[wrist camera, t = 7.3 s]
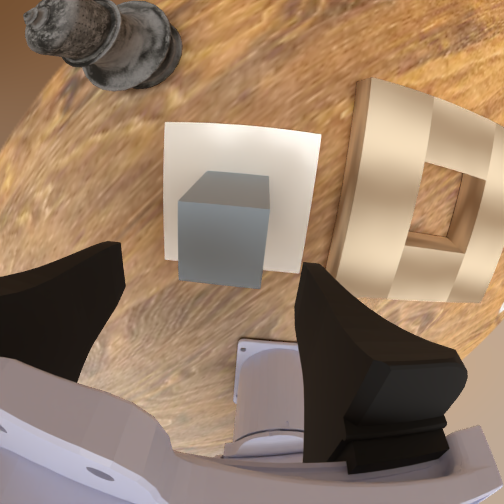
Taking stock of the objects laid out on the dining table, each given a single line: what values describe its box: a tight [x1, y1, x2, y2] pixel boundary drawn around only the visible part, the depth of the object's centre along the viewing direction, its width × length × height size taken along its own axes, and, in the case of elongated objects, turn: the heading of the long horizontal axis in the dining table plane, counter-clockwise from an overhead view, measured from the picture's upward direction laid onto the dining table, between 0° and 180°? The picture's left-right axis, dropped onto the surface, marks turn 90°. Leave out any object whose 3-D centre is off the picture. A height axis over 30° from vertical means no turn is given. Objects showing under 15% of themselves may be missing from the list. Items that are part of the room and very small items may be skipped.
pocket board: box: [326, 77, 504, 303], centre depth 18 cm, size 14×14×3 cm
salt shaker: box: [23, 0, 182, 91], centre depth 11 cm, size 6×6×12 cm
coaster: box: [163, 122, 321, 273], centre depth 20 cm, size 10×10×1 cm
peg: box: [178, 171, 270, 289], centre depth 17 cm, size 4×4×7 cm
